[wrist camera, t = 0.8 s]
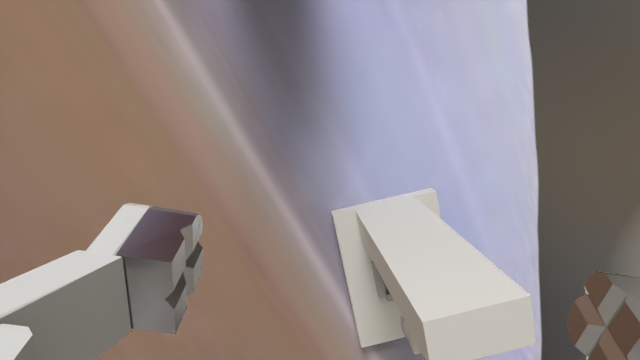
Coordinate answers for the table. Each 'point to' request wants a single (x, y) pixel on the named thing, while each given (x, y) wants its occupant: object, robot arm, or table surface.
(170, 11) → the table surface
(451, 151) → the table surface
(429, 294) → the press frame
